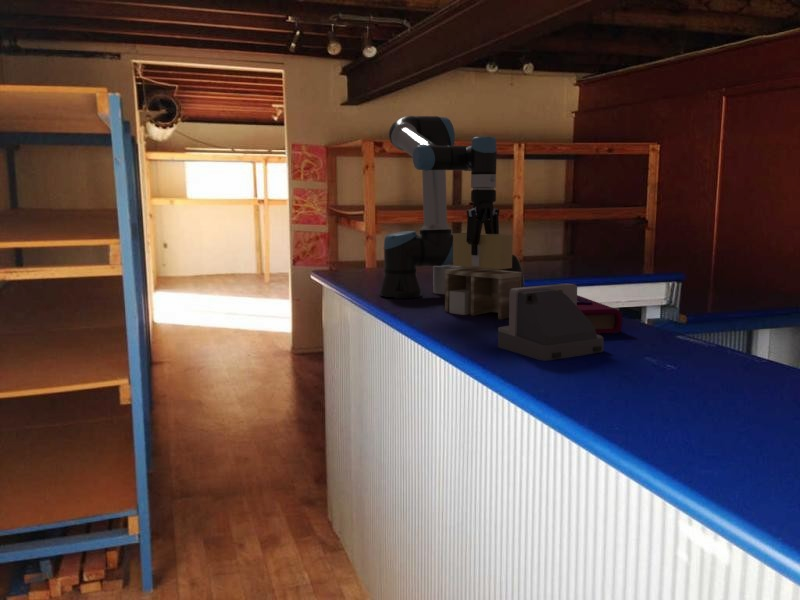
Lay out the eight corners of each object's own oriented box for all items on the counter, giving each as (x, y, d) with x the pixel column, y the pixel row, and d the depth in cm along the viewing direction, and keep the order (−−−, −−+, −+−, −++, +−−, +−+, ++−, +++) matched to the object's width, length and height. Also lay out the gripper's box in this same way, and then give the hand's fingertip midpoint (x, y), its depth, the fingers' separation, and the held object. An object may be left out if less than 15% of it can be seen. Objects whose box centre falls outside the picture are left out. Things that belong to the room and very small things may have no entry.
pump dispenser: (489, 295, 252) (490, 253, 250) (513, 293, 257) (514, 252, 254) (505, 298, 243) (505, 255, 241) (529, 296, 248) (530, 254, 245)
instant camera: (564, 338, 177) (566, 280, 175) (614, 355, 158) (617, 290, 155) (490, 344, 170) (491, 284, 168) (533, 363, 151) (534, 296, 148)
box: (449, 313, 215) (449, 291, 214) (465, 310, 221) (465, 288, 220) (464, 315, 211) (464, 292, 210) (480, 312, 216) (480, 290, 215)
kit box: (500, 269, 203) (500, 235, 202) (453, 265, 216) (453, 233, 214) (511, 267, 208) (512, 234, 206) (464, 264, 220) (465, 232, 218)
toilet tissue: (429, 291, 263) (429, 265, 261) (458, 290, 266) (458, 264, 265) (438, 295, 252) (438, 268, 251) (469, 293, 256) (469, 267, 254)
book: (579, 316, 209) (580, 292, 207) (621, 335, 181) (623, 306, 180) (512, 319, 206) (513, 294, 204) (545, 338, 178) (546, 309, 177)
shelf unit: (445, 311, 217) (445, 269, 215) (465, 307, 225) (465, 267, 223) (501, 319, 203) (501, 275, 201) (520, 315, 210) (521, 272, 208)
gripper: (474, 188, 199) (473, 268, 202) (511, 188, 212) (510, 263, 216) (454, 189, 204) (453, 266, 207) (492, 189, 217) (491, 262, 221)
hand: (482, 265), depth 211 cm, fingers closed on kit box, 6 cm apart
